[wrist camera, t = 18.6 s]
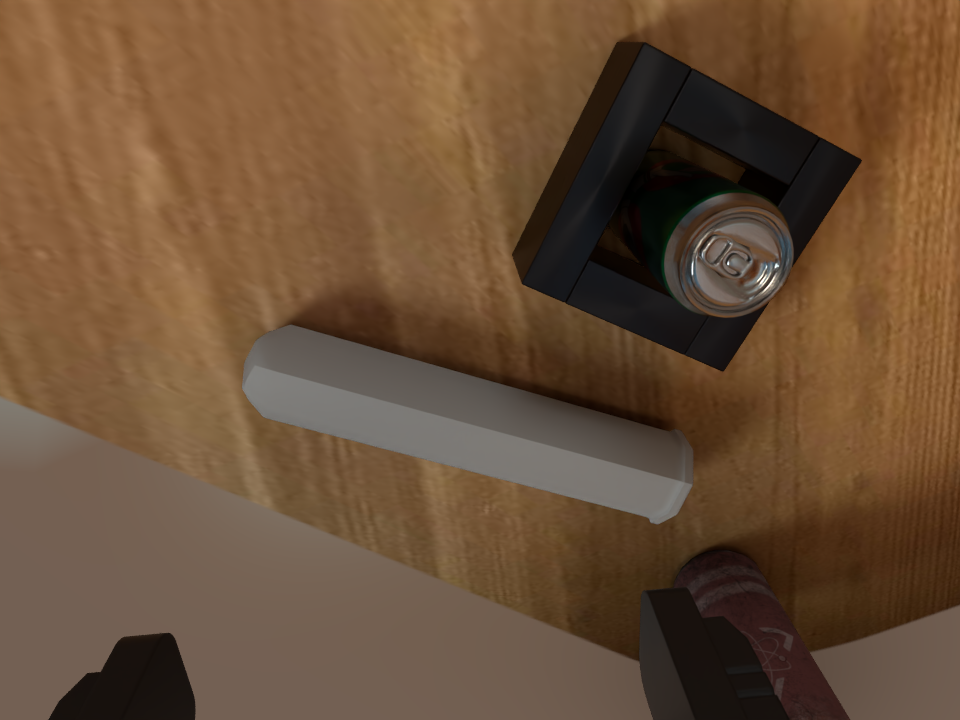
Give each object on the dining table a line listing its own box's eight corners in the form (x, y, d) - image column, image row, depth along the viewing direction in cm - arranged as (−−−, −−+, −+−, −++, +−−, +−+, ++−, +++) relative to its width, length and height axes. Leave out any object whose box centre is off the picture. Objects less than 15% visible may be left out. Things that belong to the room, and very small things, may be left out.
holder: (810, 145, 36) (863, 160, 32) (691, 335, 41) (723, 372, 36) (616, 41, 34) (644, 41, 29) (511, 255, 38) (521, 284, 33)
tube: (223, 430, 37) (654, 540, 41) (232, 360, 34) (702, 487, 38) (254, 363, 41) (644, 469, 45) (264, 293, 38) (686, 415, 42)
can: (653, 605, 49) (728, 805, 36) (696, 535, 47) (793, 722, 34) (728, 627, 50) (826, 827, 37) (774, 559, 48) (896, 749, 35)
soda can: (658, 261, 39) (745, 349, 28) (583, 215, 37) (642, 288, 26) (716, 180, 37) (832, 240, 26) (639, 129, 36) (727, 168, 25)
